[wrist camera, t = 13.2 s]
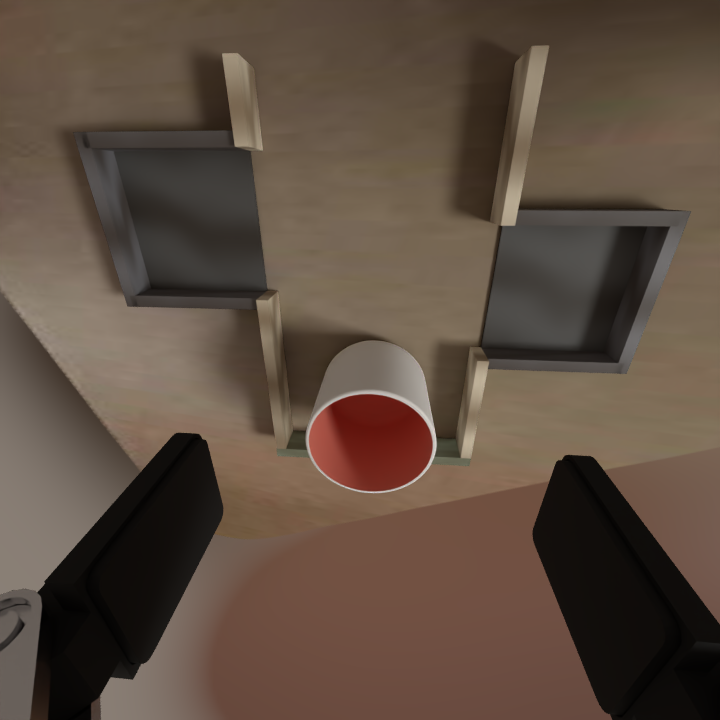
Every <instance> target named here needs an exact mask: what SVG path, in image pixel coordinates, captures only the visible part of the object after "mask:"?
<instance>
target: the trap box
mask: <svg viewBox="0 0 720 720" xmlns="http://www.w3.org/2000/svg"><path fill="white" fill-rule="evenodd" d="M548 50H549V45H548V46H531V47H530V48H529V49H528V50H527V51H526V52H525V53H524V54H523V55H522V56H521V57H520V58H519V59H518V60H517V61H516V62H515V67H514V74H513V80H512V86H511V93H510V99H509V105H508V111H507V118H506V124H505V130H504V137H503V143H502V149H501V155H500V162H499V168H498V174H497V181H496V187H495V193H494V199H493V206H492V212H491V218H490V222H491V223H494V224H497V225H500V226H502V229H501V234H500V240H499V246H498V252H497V257H496V263H495V269H494V275H493V280H492V286H491V292H490V297H489V303H488V309H487V315H486V320H485V326H484V332H483V338H482V343H481V347H470V350H469V357H468V363H467V369H466V376H465V382H464V388H463V394H462V401H461V407H460V413H459V420H458V426H457V432H456V438H455V439H450V438H436V441H437V446H436V453H435V456H434V459H433V461H432V463H431V464H440V465H459V466H469V465H470V460H471V454H472V449H473V444H474V439H475V433H476V428H477V423H478V418H479V412H480V407H481V402H482V397H483V391H484V386H485V381H486V376H487V370H488V369H503V370H531V371H560V372H589V373H617V374H627V371H628V369H629V366H630V364H631V361H632V359H633V356H634V354H635V351H636V349H637V346H638V344H639V341H640V339H641V336H642V334H643V331H644V329H645V326H646V324H647V321H648V319H649V316H650V314H651V311H652V309H653V306H654V304H655V301H656V299H657V296H658V294H659V291H660V289H661V286H662V284H663V281H664V278H665V276H666V273H667V271H668V268H669V266H670V263H671V261H672V258H673V256H674V253H675V251H676V248H677V246H678V243H679V241H680V238H681V236H682V233H683V231H684V228H685V226H686V223H687V221H688V218H689V216H690V213H691V211H681V210H667V209H518V208H519V202H520V197H521V192H522V187H523V181H524V176H525V171H526V166H527V160H528V155H529V150H530V145H531V139H532V134H533V129H534V123H535V118H536V113H537V108H538V102H539V97H540V92H541V87H542V81H543V76H544V71H545V66H546V60H547V55H548ZM222 57H223V64H224V71H225V79H226V86H227V93H228V100H229V108H230V115H231V122H232V129H233V131H134V132H73V134H74V137H75V140H76V143H77V147H78V150H79V153H80V156H81V159H82V163H83V166H84V169H85V172H86V175H87V179H88V182H89V185H90V188H91V191H92V194H93V198H94V201H95V204H96V207H97V210H98V214H99V217H100V220H101V223H102V226H103V230H104V233H105V236H106V239H107V242H108V246H109V249H110V252H111V255H112V258H113V262H114V265H115V268H116V271H117V274H118V278H119V281H120V284H121V287H122V290H123V293H124V297H125V300H126V303H127V306H130V307H170V308H210V309H250V310H257V311H258V318H259V325H260V332H261V339H262V347H263V354H264V361H265V368H266V376H267V383H268V390H269V397H270V405H271V412H272V419H273V426H274V434H275V441H276V448H277V455H278V456H289V457H308V458H310V457H309V454H308V452H307V447H306V441H305V436H306V432H304V431H293V426H292V417H291V407H290V398H289V389H288V379H287V370H286V361H285V351H284V342H283V333H282V324H281V314H280V305H279V296H278V291H267V284H266V276H265V268H264V259H263V251H262V243H261V235H260V226H259V218H258V210H257V202H256V193H255V185H254V177H253V169H252V160H251V152H250V151H263V146H262V137H261V128H260V118H259V109H258V100H257V90H256V81H255V72H254V68H253V67H252V66H251V65H250V64H249V63H248V62H247V61H246V60H244V59H243V58H242V57H241V56H240V55H239V54H238V53H227V54H222Z"/></svg>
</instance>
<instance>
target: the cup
mask: <svg viewBox="0 0 720 720" xmlns="http://www.w3.org/2000/svg"><path fill="white" fill-rule="evenodd" d="M305 441H306V447H307V452H308V454H309V457H310V459H311V461H312V462H313V464H314V465H315V467H316V468H317V469H318V470H319V471H320V472H321V473H322V474H323V475H324V476H325V477H327V478H328V479H329V480H331V481H332V482H334V483H336V484H338V485H340V486H342V487H344V488H347V489H350V490H354V491H358V492H365V493H383V492H390V491H394V490H398V489H401V488H403V487H406V486H408V485H410V484H411V483H413V482H415V481H416V480H417V479H419V478H420V477H421V476H422V475H423V474H424V473H425V472H426V471H427V469H428V468H429V467H430V465H431V463H432V461H433V459H434V456H435V453H436V446H437V441H436V433H435V428H434V423H433V418H432V413H431V408H430V403H429V397H428V392H427V387H426V382H425V377H424V374H423V371H422V369H421V367H420V365H419V364H418V362H417V361H416V360H415V358H414V357H413V356H412V355H411V354H410V353H408V352H407V351H406V350H404V349H403V348H401V347H399V346H397V345H395V344H392V343H389V342H385V341H377V340H370V341H363V342H358V343H355V344H353V345H350V346H348V347H346V348H345V349H343V350H342V351H341V352H339V353H338V354H337V355H336V356H335V357H334V358H333V360H332V361H331V362H330V364H329V366H328V368H327V370H326V373H325V376H324V379H323V381H322V384H321V387H320V390H319V393H318V396H317V399H316V402H315V405H314V408H313V411H312V414H311V417H310V420H309V423H308V425H307V429H306V436H305Z"/></svg>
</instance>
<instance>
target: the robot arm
mask: <svg viewBox="0 0 720 720" xmlns="http://www.w3.org/2000/svg"><path fill="white" fill-rule="evenodd" d="M222 516H223V504H222V500H221V496H220V492H219V488H218V484H217V480H216V476H215V472H214V468H213V464H212V460H211V456H210V452H209V448H208V444H207V441H206V440H203V439H202V438H201V436H200V435H199V434H192V433H176V434H174V435H173V436H172V437H171V438H170V439H169V441H168V442H167V443H166V444H165V445H164V446H163V447H162V448H161V450H160V451H159V452H158V453H157V454H156V455H155V456H154V458H153V459H152V460H151V461H150V462H149V463H148V464H147V466H146V467H145V468H144V469H143V470H142V471H141V472H140V474H139V475H138V476H137V477H136V478H135V479H134V480H133V481H132V483H131V484H130V485H129V486H128V487H127V488H126V489H125V491H124V492H123V493H122V494H121V495H120V496H119V497H118V499H117V500H116V501H115V502H114V503H113V504H112V505H111V506H110V508H109V509H108V510H107V511H106V512H105V513H104V515H103V516H102V517H101V518H100V519H99V520H98V521H97V523H95V525H94V526H93V527H92V528H91V529H90V530H89V532H88V533H87V534H86V535H85V536H84V537H83V538H82V539H81V541H80V542H79V543H78V544H77V545H76V546H75V547H74V549H73V550H72V551H71V552H70V553H69V554H68V555H67V556H66V558H65V559H64V560H63V561H62V562H61V563H60V564H59V566H58V567H57V568H56V569H55V570H54V571H53V572H52V573H51V575H50V576H49V577H48V578H47V579H46V580H45V584H44V586H43V587H42V588H41V589H40V590H39V591H38V592H36V591H34V590H29V589H20V590H12V591H9V592H7V593H4V594H1V595H0V720H101V708H100V707H101V706H100V695H101V693H102V691H103V689H104V687H105V686H106V684H107V682H108V681H109V679H110V677H114V678H124V679H133V678H134V677H135V675H136V673H137V671H138V669H139V667H140V665H141V664H144V663H146V662H147V661H148V660H149V659H150V657H151V656H152V654H153V652H154V650H155V649H156V646H157V645H158V643H159V641H160V639H161V637H162V635H163V633H164V631H165V629H166V627H167V625H168V623H169V621H170V619H171V617H172V615H173V613H174V611H175V609H176V607H177V605H178V603H179V602H180V600H181V598H182V596H183V594H184V592H185V590H186V588H187V586H188V584H189V582H190V580H191V578H192V576H193V574H194V572H195V570H196V568H197V566H198V564H199V562H200V560H201V558H202V556H203V555H204V553H205V551H206V549H207V547H208V545H209V543H210V541H211V539H212V537H213V535H214V533H215V531H216V529H217V527H218V525H219V523H220V521H221V519H222ZM533 541H534V544H535V547H536V549H537V552H538V554H539V557H540V559H541V562H542V564H543V567H544V569H545V572H546V574H547V577H548V579H549V582H550V584H551V586H552V589H553V592H554V594H555V597H556V599H557V602H558V604H559V606H560V609H561V612H562V614H563V616H564V619H565V621H566V624H567V626H568V629H569V631H570V634H571V636H572V639H573V641H574V644H575V646H576V649H577V651H578V654H579V656H580V659H581V661H582V664H583V666H584V669H585V671H586V674H587V676H588V678H589V681H590V683H591V686H592V688H593V691H594V693H595V696H596V698H597V700H598V702H599V705H600V706H601V708H602V709H603V710H604V712H606V713H608V714H610V715H611V717H612V720H720V624H719V623H718V622H717V620H716V619H715V618H714V616H713V615H712V614H711V612H710V611H709V610H708V608H707V607H706V606H705V605H704V603H703V602H702V601H701V599H700V598H699V596H698V595H697V594H696V592H695V591H694V590H693V588H692V587H691V586H690V584H689V583H688V582H687V580H686V579H685V578H684V576H683V575H682V574H681V572H680V571H679V570H678V568H677V567H676V566H675V564H674V563H673V562H672V561H671V559H670V558H669V556H668V555H667V554H666V552H665V551H664V550H663V549H662V547H661V546H660V545H659V543H658V542H657V540H656V539H655V538H654V537H653V535H652V534H651V533H650V531H649V530H648V529H647V527H646V526H645V525H644V523H643V522H642V521H641V519H640V518H639V517H638V515H637V514H636V513H635V511H634V510H633V509H632V507H631V506H630V505H629V503H628V502H627V501H626V499H625V498H624V497H623V495H622V494H621V493H620V491H619V490H618V489H617V488H616V486H615V485H614V483H613V482H612V481H611V479H610V478H609V477H608V475H606V473H605V471H604V470H603V469H602V467H601V466H600V465H599V463H598V462H597V461H596V460H595V459H594V458H593V457H591V456H578V455H566V456H564V457H563V459H562V460H558V461H557V462H556V464H555V467H554V470H553V473H552V476H551V479H550V481H549V484H548V487H547V490H546V493H545V496H544V499H543V502H542V505H541V507H540V511H539V514H538V516H537V519H536V522H535V525H534V528H533Z"/></svg>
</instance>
